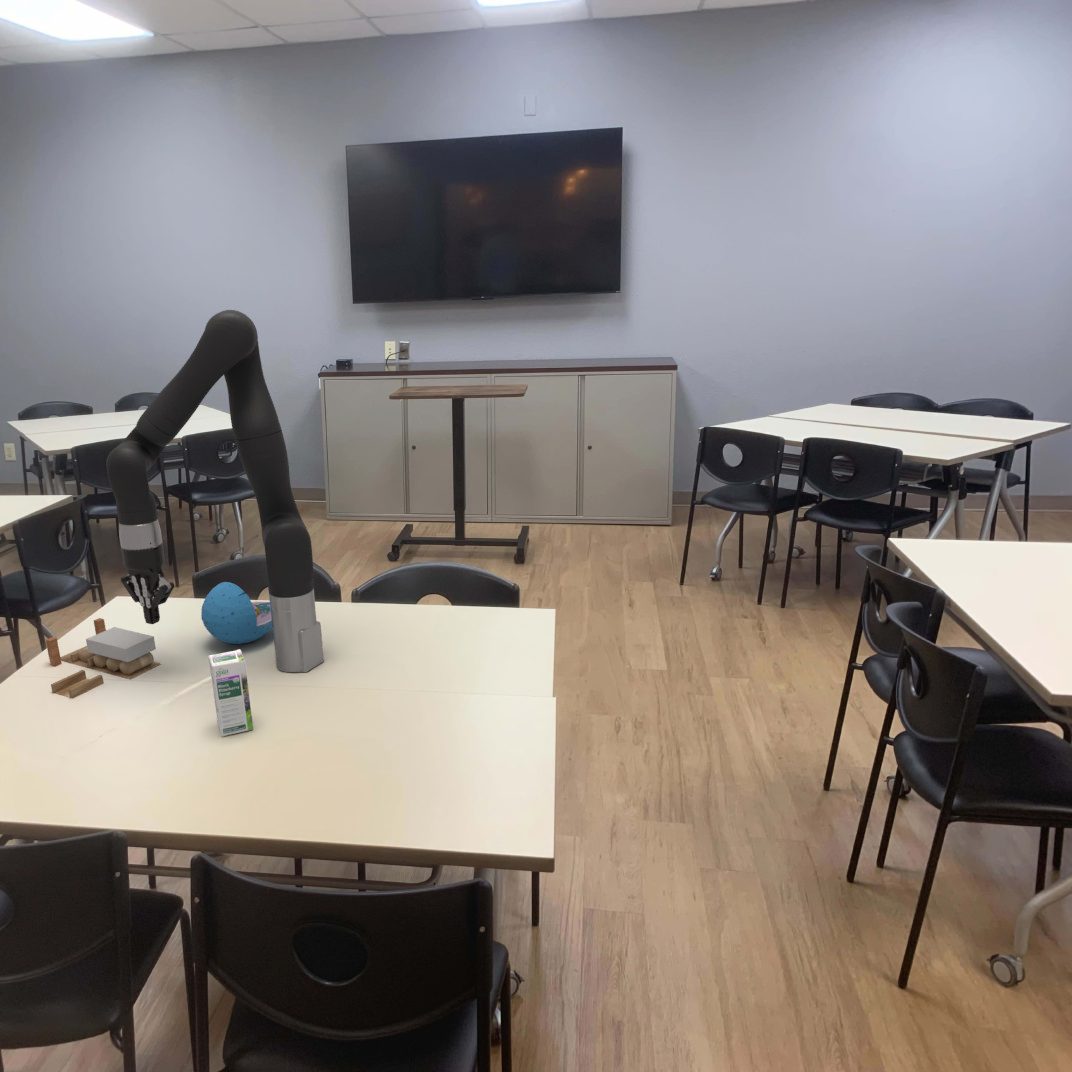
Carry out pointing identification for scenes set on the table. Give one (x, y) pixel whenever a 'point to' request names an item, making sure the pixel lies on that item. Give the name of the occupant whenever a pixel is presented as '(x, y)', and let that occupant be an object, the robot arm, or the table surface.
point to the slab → (120, 644)
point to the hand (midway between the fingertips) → (152, 622)
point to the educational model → (235, 615)
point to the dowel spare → (85, 654)
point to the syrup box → (231, 692)
